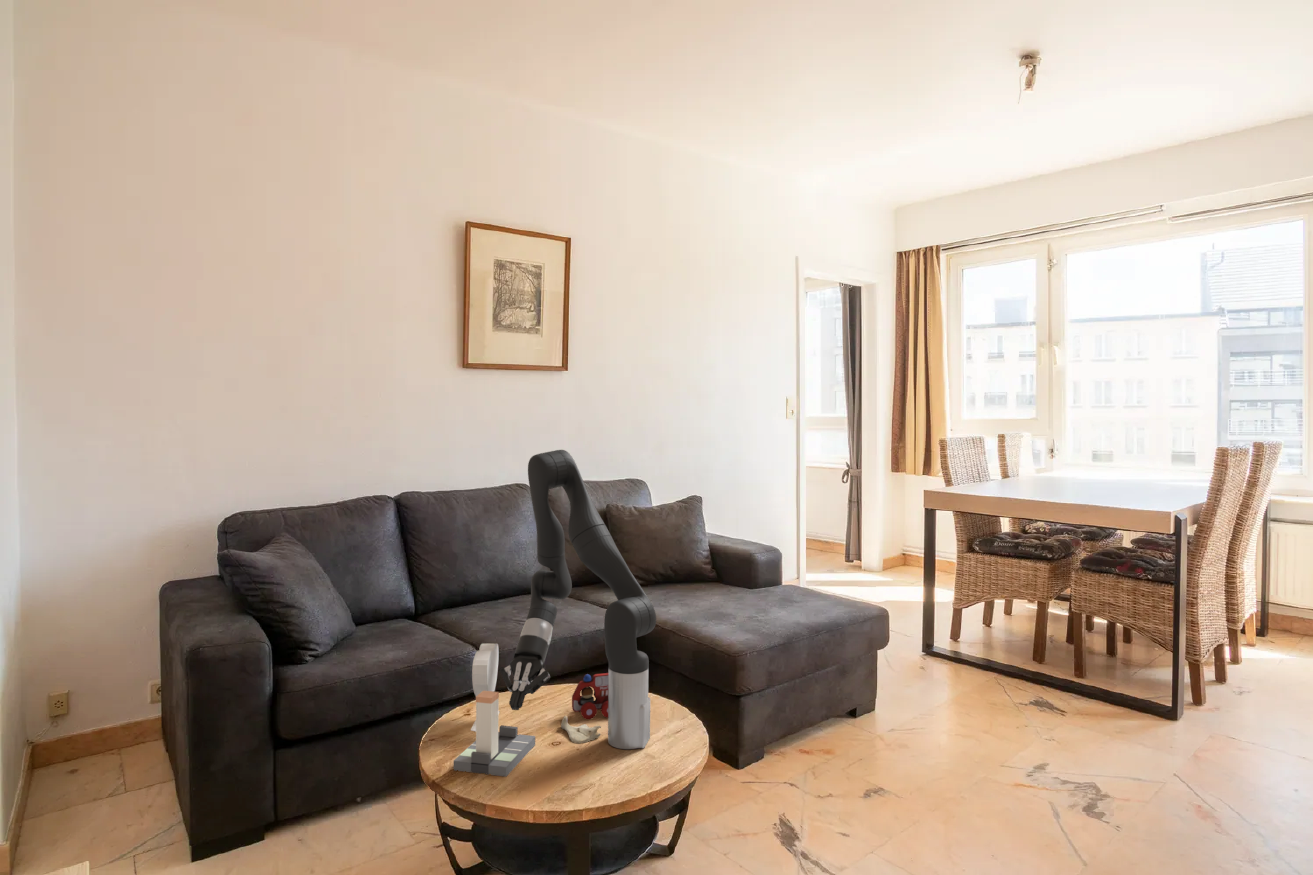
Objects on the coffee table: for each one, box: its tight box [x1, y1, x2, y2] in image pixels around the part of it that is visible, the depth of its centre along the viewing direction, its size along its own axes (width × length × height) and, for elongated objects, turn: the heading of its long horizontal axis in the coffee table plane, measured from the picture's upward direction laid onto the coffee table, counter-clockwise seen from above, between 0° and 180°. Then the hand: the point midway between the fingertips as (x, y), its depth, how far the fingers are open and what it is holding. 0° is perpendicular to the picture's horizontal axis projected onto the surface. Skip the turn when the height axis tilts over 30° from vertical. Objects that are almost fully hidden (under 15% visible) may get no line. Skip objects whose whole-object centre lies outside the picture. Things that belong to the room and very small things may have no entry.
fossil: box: [560, 715, 602, 745], centre depth 183 cm, size 7×11×3 cm, turn 29°
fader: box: [475, 691, 500, 759], centre depth 165 cm, size 4×4×13 cm
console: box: [452, 724, 536, 777], centre depth 169 cm, size 12×16×4 cm
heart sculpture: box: [470, 643, 500, 732], centre depth 189 cm, size 16×5×18 cm, turn 2°
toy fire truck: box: [571, 672, 609, 720], centre depth 194 cm, size 7×12×10 cm, turn 104°
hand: (514, 708), depth 179 cm, fingers closed
